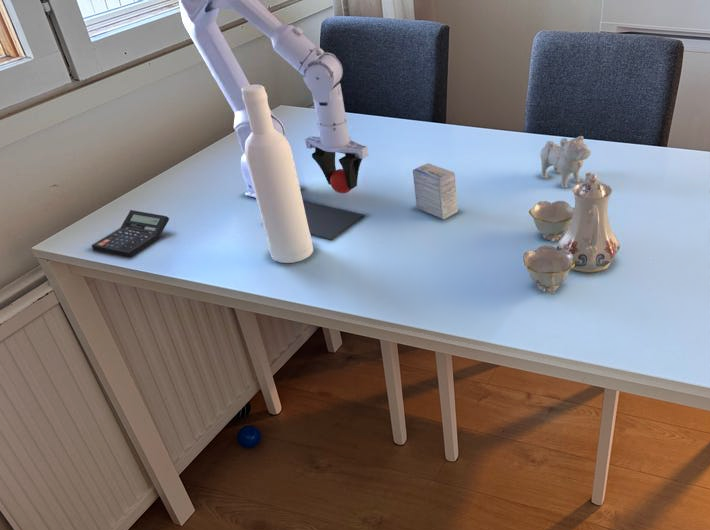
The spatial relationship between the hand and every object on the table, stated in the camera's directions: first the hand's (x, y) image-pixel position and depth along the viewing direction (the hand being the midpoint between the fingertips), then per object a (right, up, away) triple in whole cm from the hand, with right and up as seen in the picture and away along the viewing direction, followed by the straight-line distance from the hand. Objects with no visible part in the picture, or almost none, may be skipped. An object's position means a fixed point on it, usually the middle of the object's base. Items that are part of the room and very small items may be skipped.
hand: (342, 185), depth 142 cm
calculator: (-39, -13, -10) cm, 43 cm away
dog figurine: (+48, +2, +4) cm, 48 cm away
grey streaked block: (+20, -7, -6) cm, 22 cm away
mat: (-4, -9, -7) cm, 12 cm away
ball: (0, -1, +1) cm, 2 cm away
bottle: (-6, -17, -17) cm, 25 cm away
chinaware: (+45, -20, -23) cm, 54 cm away
